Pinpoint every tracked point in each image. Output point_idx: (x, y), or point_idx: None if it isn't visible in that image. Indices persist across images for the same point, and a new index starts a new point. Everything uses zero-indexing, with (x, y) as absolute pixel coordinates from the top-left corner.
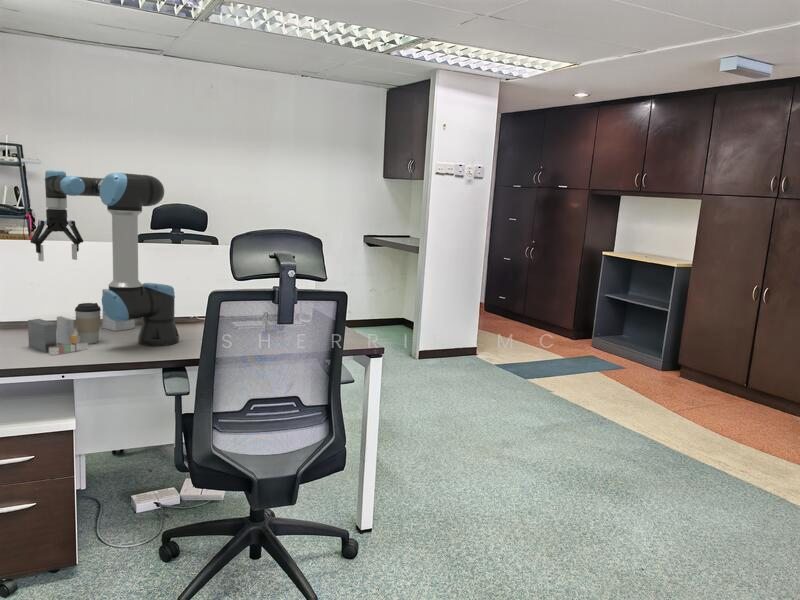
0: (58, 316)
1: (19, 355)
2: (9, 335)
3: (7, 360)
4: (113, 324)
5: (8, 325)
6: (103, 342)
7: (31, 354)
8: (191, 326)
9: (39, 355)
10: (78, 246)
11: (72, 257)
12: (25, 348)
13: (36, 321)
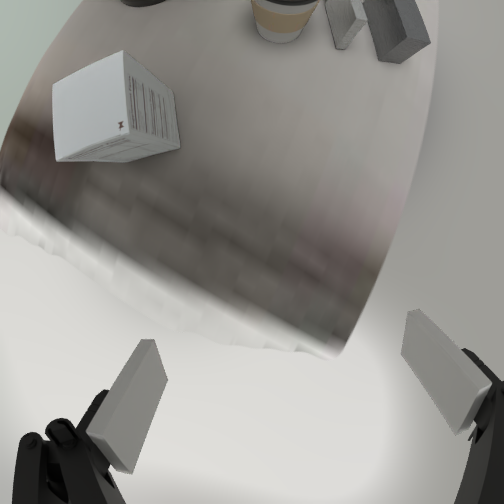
0: (362, 19)
1: None
2: (402, 194)
3: (437, 17)
4: (169, 92)
5: (360, 307)
6: None
7: None
8: (32, 88)
9: None
10: (81, 421)
11: (162, 382)
12: None
13: (416, 17)
